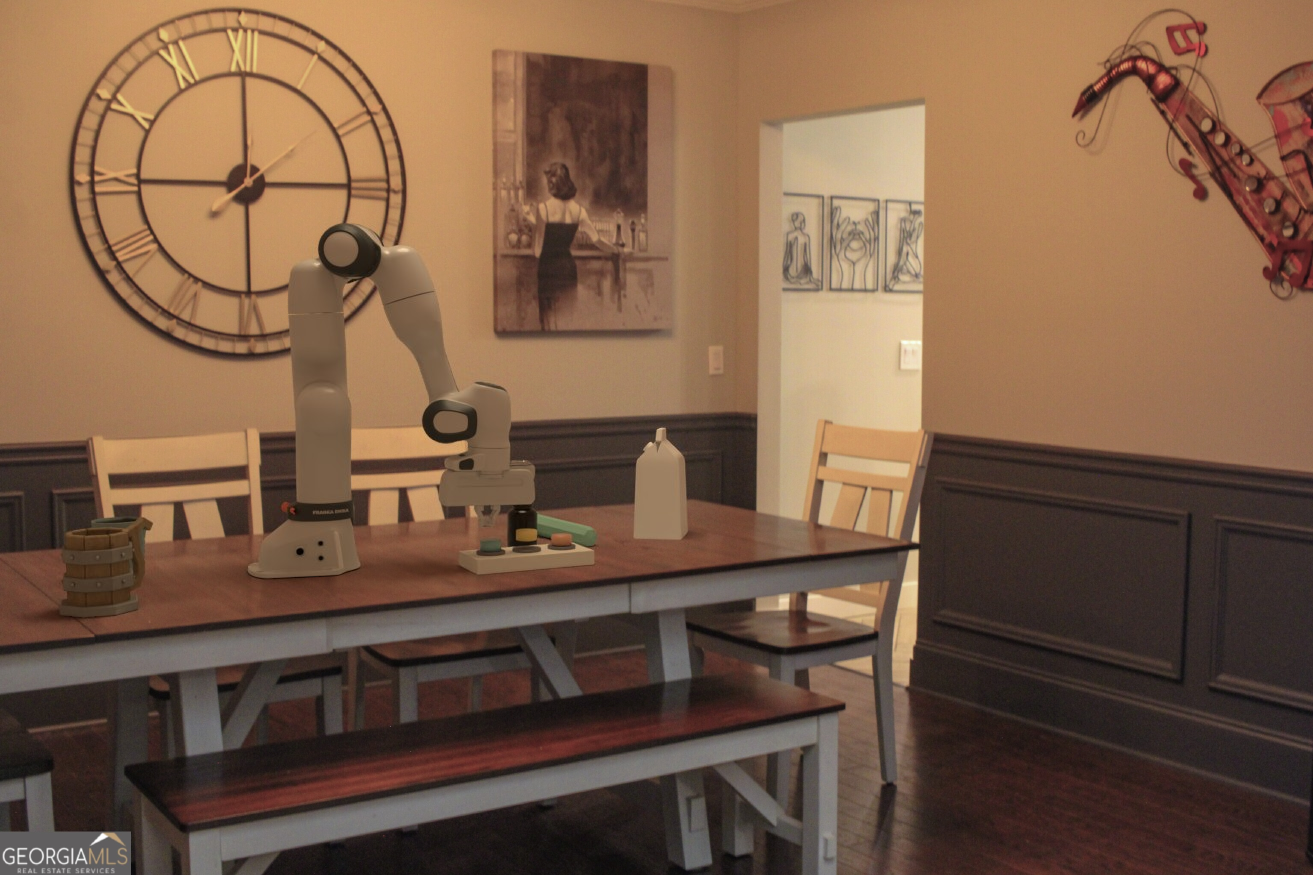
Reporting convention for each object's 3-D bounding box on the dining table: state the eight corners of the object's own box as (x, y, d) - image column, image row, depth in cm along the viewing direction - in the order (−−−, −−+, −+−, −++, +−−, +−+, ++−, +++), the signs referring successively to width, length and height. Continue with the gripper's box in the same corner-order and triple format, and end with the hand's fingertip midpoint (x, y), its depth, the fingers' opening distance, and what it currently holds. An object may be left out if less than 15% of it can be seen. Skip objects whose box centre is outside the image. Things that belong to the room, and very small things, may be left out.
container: (597, 520, 294) (538, 507, 314) (578, 532, 291) (519, 518, 311) (605, 543, 296) (546, 528, 316) (586, 555, 293) (527, 539, 313)
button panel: (477, 574, 260) (477, 557, 260) (458, 565, 270) (458, 548, 270) (594, 564, 272) (594, 547, 271) (571, 555, 282) (571, 539, 282)
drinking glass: (89, 585, 248) (87, 524, 247) (96, 575, 258) (94, 516, 257) (145, 582, 251) (143, 522, 250) (150, 573, 260) (149, 514, 259)
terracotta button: (556, 546, 271) (555, 537, 271) (548, 543, 275) (548, 534, 275) (575, 544, 273) (575, 535, 273) (566, 541, 277) (566, 532, 277)
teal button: (484, 552, 264) (484, 542, 264) (477, 549, 268) (477, 539, 268) (504, 550, 266) (504, 541, 266) (497, 547, 270) (497, 538, 270)
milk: (681, 539, 305) (681, 431, 303) (633, 538, 307) (633, 430, 304) (687, 531, 317) (688, 427, 314) (641, 530, 318) (642, 426, 316)
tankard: (99, 620, 218) (96, 533, 217) (43, 613, 223) (40, 528, 222) (182, 597, 237) (180, 517, 236) (129, 592, 241) (127, 513, 240)
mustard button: (520, 541, 268) (520, 532, 268) (513, 538, 272) (513, 529, 271) (540, 540, 270) (540, 530, 270) (532, 537, 274) (532, 528, 273)
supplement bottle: (532, 552, 286) (532, 499, 285) (503, 551, 287) (502, 498, 286) (541, 547, 292) (541, 495, 291) (512, 546, 294) (512, 494, 293)
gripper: (529, 458, 273) (527, 522, 274) (437, 459, 264) (435, 525, 265) (540, 461, 268) (538, 527, 269) (446, 462, 258) (444, 530, 259)
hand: (486, 526), depth 267 cm, fingers closed
